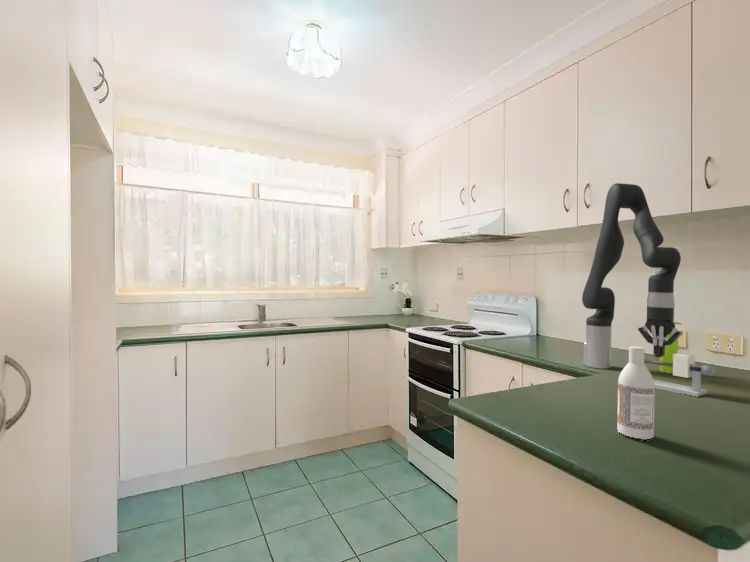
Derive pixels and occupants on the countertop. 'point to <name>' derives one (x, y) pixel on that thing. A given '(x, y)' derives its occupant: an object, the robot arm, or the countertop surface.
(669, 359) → the soap dispenser
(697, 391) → the rod slider assembly
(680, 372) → the sleeve
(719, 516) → the countertop surface
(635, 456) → the countertop surface
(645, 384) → the bath foam
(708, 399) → the countertop surface
